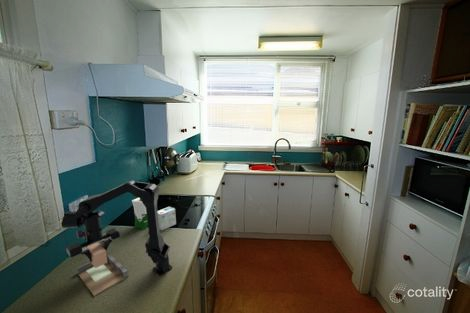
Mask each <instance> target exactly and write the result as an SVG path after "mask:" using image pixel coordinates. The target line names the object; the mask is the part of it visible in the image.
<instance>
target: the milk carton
mask: <svg viewBox="0 0 470 313" xmlns="http://www.w3.org/2000/svg"><path fill="white" fill-rule="evenodd" d="M131 204H132V205H133V210H134V211H133V212H134V213H133V214H134V228H138V229H142V230H145V229H146V228H148V221H147V213H146V207H145V206H144V204H143V203H142V200H141V198H139V197H136V198H135V199H132V200H131Z"/></svg>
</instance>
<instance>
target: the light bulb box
mask: <svg viewBox="0 0 470 313" xmlns="http://www.w3.org/2000/svg"><path fill="white" fill-rule="evenodd" d="M157 211H158V220H159V229H160V231H164V230H167V229H168V228H170V227H173V226H175V225H177V217H176V208H175V207H171V206H167V207H165V208H162V209H160V210H157Z"/></svg>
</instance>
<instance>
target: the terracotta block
mask: <svg viewBox="0 0 470 313" xmlns="http://www.w3.org/2000/svg"><path fill="white" fill-rule="evenodd" d="M88 249H89V250H90V254H91V258H92V262H91V263H92V265H93V266H94V267H95V268H97V267H99V266H101V265H103V264H105V263H107V256H106V254H107V251H106V250H105V249H104V248H103V247H102V244H100V242H97V243H95V244H92V245H90V246H88ZM87 260H88V261H89V259H88V258H87Z"/></svg>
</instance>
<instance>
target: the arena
mask: <svg viewBox="0 0 470 313" xmlns="http://www.w3.org/2000/svg"><path fill="white" fill-rule="evenodd" d="M106 256H107V263H105V264H103V265H101V266H99V267H97V268H95V267H94V266H93V265H92V263H91V262H90V261H89V260H88V261H87V262H85V263H84V264H81V265H78V266H77V267H76V273H77V275H78V277H79V278H80V279H81V280H82V282H83V284H85V286H86V287H87V289H88V290H89V291H90V294H92V296H93V297H96V296H98V295H99V294H101V293H102V292H104V291H106V290H109V288H112V287H113V286H115V285H117V284H119V283H120V282H122V281H123V280H125V279H127V278H128V277H129V271H128V270H127V269H126V268H125V267H124V266H123V265H122V264H121V263H120V262H119V261H118V260H116V259H115V257H114V256H112V254H111V253H110V252H106Z"/></svg>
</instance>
